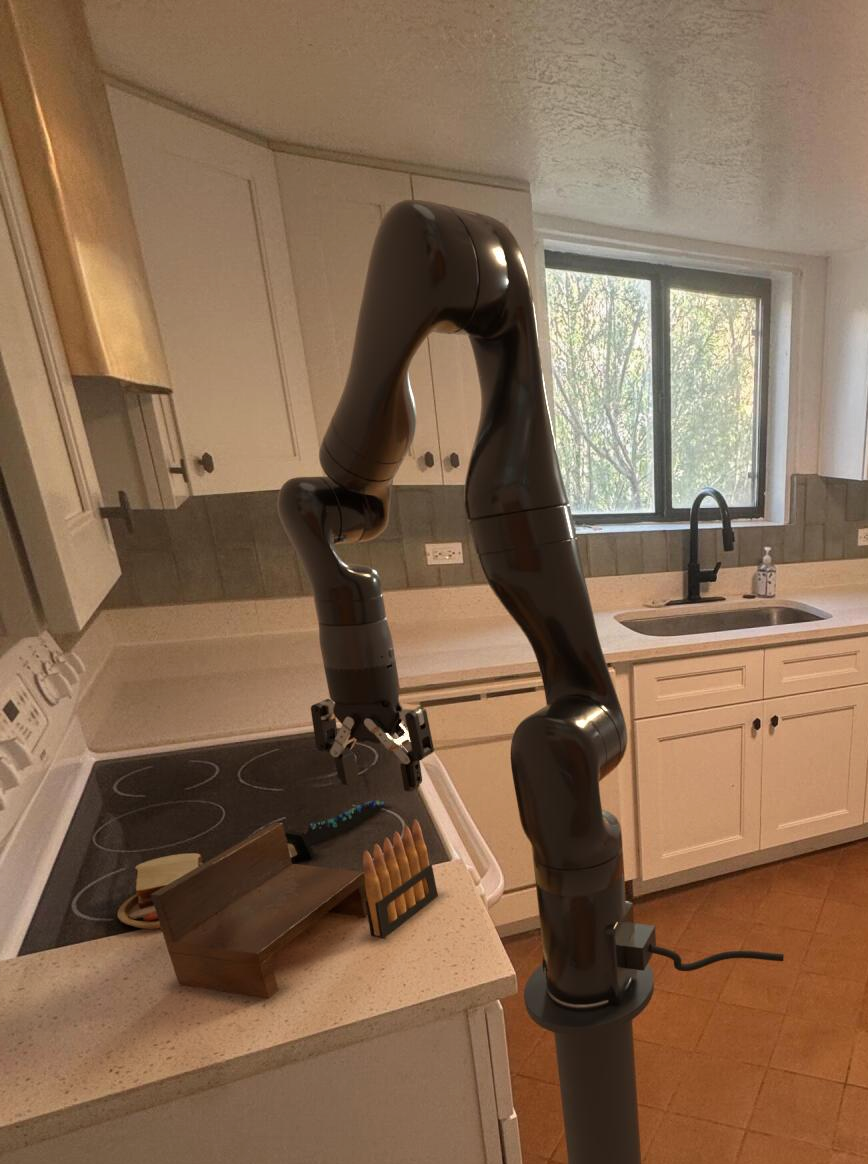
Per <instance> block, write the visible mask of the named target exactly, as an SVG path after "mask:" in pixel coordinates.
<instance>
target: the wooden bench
mask: <svg viewBox="0 0 868 1164" xmlns="http://www.w3.org/2000/svg"><path fill="white" fill-rule="evenodd" d="M285 833H286V831H285V828H284V824H283V822H273V823H271V824H270V825H268V826H266V827H263V828H262V829H261V830H259V831H257V832H255V833H254V834H252V835H250V836H249V837H247V838H245V839H243V840H242V841H240V842H238V843H237V844H235V845H233V846H232V847H230V848H228V849H226V850H224V851H223V852H222V853H219V854H217V855H216V856H215V857H212V858H210V859H209V860H208V861H206V862H204V863H202V864H200V865H199V867H197V868H195V869H194V870H192V871H190V872H188V873H187V874H185V875H183V876H182V877H180V878H178V879H176V880H175V881H173V882H171V883H170V884H168V885H166V886H164V887H163V888H161V889H159V890H157V891H156V892H154V893H152V894H151V897H152V900H153V904H154V907H155V910H156V913H157V916H158V920H159V923H160V926H161V928H160V929H161V932H162V936H163V939H164V942H165V944H166V948H167V951H168V955H169V958H170V962H171V964H172V968H173V971H174V974H175V977H176V980H177V983H178V985H179V986H185V987H192V988H196V989H197V988H198V989H205V990H211V991H217V992H224V993H231V994H238V995H244V996H250V997H257V998H263V999H270V998H271V997H273V996H274V995H275V994H276V993H277V992H278V991H279V990H280V989H279V986H278V982H277V978H276V975H275V970H274V966H273V962H272V959H271V957H272V956H273V955H275V954H276V953H277V952H279V950H281V949H282V948H284V947H285V946H286V945H288V944H289V943H290V942H291V941H292V940H293V939H296V937H298V936H299V935H300V934H301V933H303V932H304V931H306V930H307V929H308V928H309V927H310V926H312V925H313V924H314V923H315V922H316V921H318V920H319V919H320V918H323V916H324V915H326V914H327V913H329V914H336V915H337V914H338V915H345V916H353V917H359V918H360V917H361V918H366V917H368V915H367V909H366V903H365V901H366V900H367V894H366V888H365V875H364V871H359V870H350V869H341V868H334V867H326V866H325V867H324V866H315V865H309V864H308V865H306V864H297V863H293V862H292V858H291V857H290V853H289V849H288V844H287V841H288V840H287V838H286V836H285Z"/></svg>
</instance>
